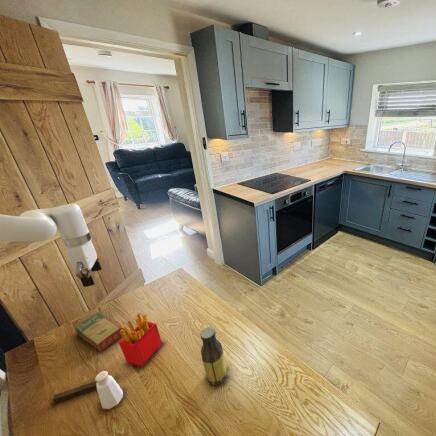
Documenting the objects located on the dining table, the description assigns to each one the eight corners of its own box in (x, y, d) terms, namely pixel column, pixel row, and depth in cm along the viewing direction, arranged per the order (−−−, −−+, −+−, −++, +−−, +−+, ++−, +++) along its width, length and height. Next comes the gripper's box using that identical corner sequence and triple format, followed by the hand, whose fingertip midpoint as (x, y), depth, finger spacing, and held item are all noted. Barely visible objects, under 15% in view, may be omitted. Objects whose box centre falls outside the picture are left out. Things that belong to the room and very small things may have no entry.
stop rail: (54, 403, 68) (52, 399, 68) (57, 398, 70) (54, 394, 69) (112, 383, 74) (111, 380, 73) (113, 379, 75) (112, 375, 74)
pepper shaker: (107, 414, 66) (94, 389, 62) (97, 403, 69) (84, 379, 64) (127, 395, 71) (117, 371, 66) (117, 386, 73) (107, 362, 68)
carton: (100, 352, 83) (96, 344, 81) (77, 334, 89) (72, 326, 88) (125, 334, 90) (121, 326, 88) (101, 318, 96) (98, 311, 94)
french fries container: (125, 362, 80) (113, 332, 74) (147, 339, 88) (138, 311, 82) (142, 368, 78) (131, 338, 72) (163, 344, 86) (154, 315, 81)
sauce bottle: (227, 364, 80) (221, 321, 72) (226, 383, 74) (219, 339, 66) (207, 368, 78) (198, 324, 70) (205, 388, 73) (195, 343, 65)
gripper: (72, 230, 90) (88, 267, 97) (52, 253, 75) (72, 295, 82) (97, 227, 92) (110, 263, 99) (82, 248, 78) (99, 289, 85)
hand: (93, 277), depth 91 cm, fingers open, 9 cm apart
